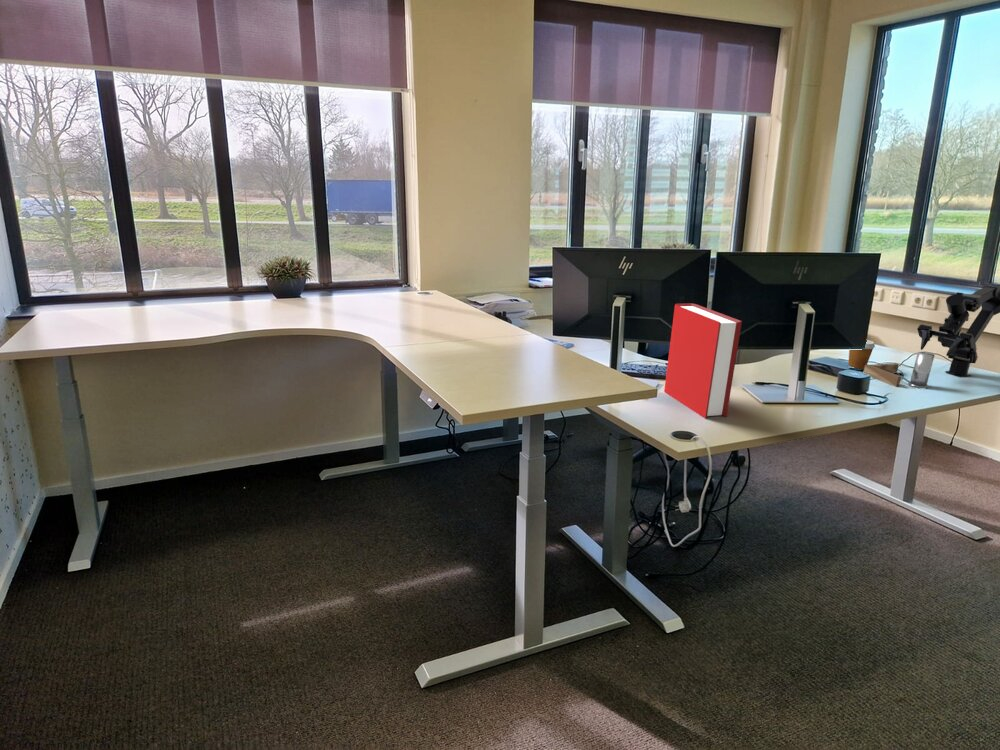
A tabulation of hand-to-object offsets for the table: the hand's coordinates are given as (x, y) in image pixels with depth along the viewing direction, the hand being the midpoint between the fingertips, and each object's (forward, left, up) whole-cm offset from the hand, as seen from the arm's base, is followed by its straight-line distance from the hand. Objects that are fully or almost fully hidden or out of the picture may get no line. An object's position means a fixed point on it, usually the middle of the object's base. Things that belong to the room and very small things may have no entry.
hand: (933, 352), depth 243 cm
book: (+106, 0, -13) cm, 107 cm away
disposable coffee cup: (+12, -22, -13) cm, 28 cm away
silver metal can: (+6, +2, -13) cm, 14 cm away
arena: (+8, -7, -13) cm, 17 cm away
